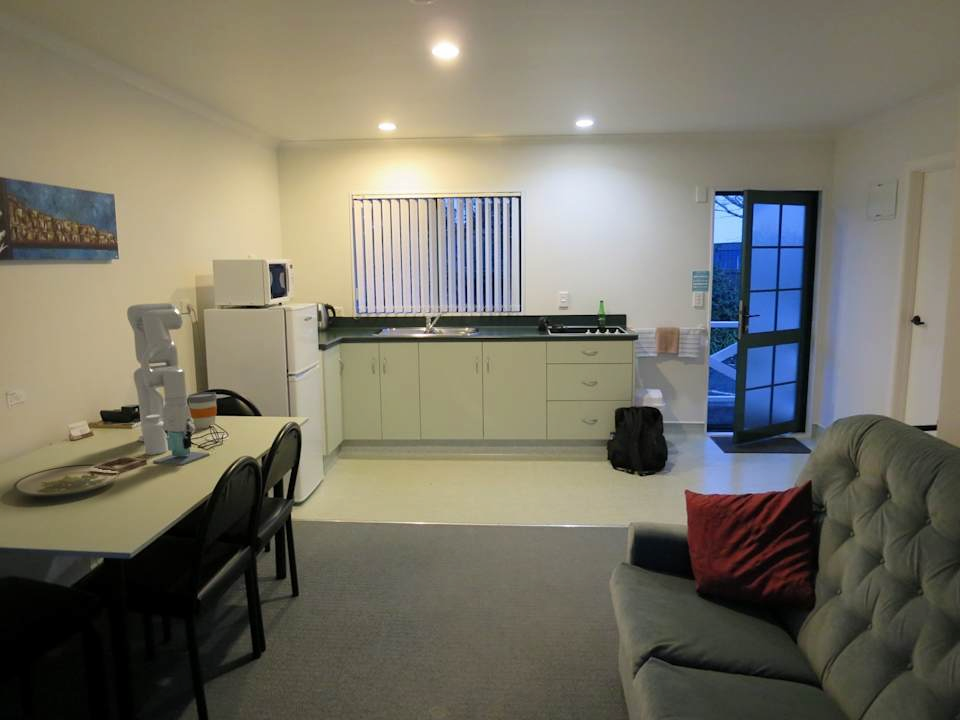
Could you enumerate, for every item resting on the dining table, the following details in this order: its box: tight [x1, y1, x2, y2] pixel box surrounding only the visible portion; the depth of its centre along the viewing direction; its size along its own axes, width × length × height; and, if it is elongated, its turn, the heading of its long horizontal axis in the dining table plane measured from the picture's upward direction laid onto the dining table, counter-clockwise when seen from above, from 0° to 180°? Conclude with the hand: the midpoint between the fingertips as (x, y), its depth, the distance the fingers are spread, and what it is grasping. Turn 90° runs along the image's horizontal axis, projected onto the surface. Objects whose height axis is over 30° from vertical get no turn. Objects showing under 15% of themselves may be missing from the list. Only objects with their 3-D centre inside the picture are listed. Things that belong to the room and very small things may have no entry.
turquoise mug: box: [166, 432, 191, 456], centre depth 246 cm, size 8×6×9 cm
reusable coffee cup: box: [187, 391, 218, 429], centre depth 301 cm, size 13×13×15 cm
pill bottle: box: [143, 415, 168, 456], centre depth 258 cm, size 8×8×15 cm
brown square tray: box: [93, 456, 148, 474], centre depth 239 cm, size 13×13×2 cm
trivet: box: [152, 451, 210, 467], centre depth 248 cm, size 14×14×1 cm
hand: (180, 446), depth 247 cm, fingers closed on turquoise mug, 6 cm apart
